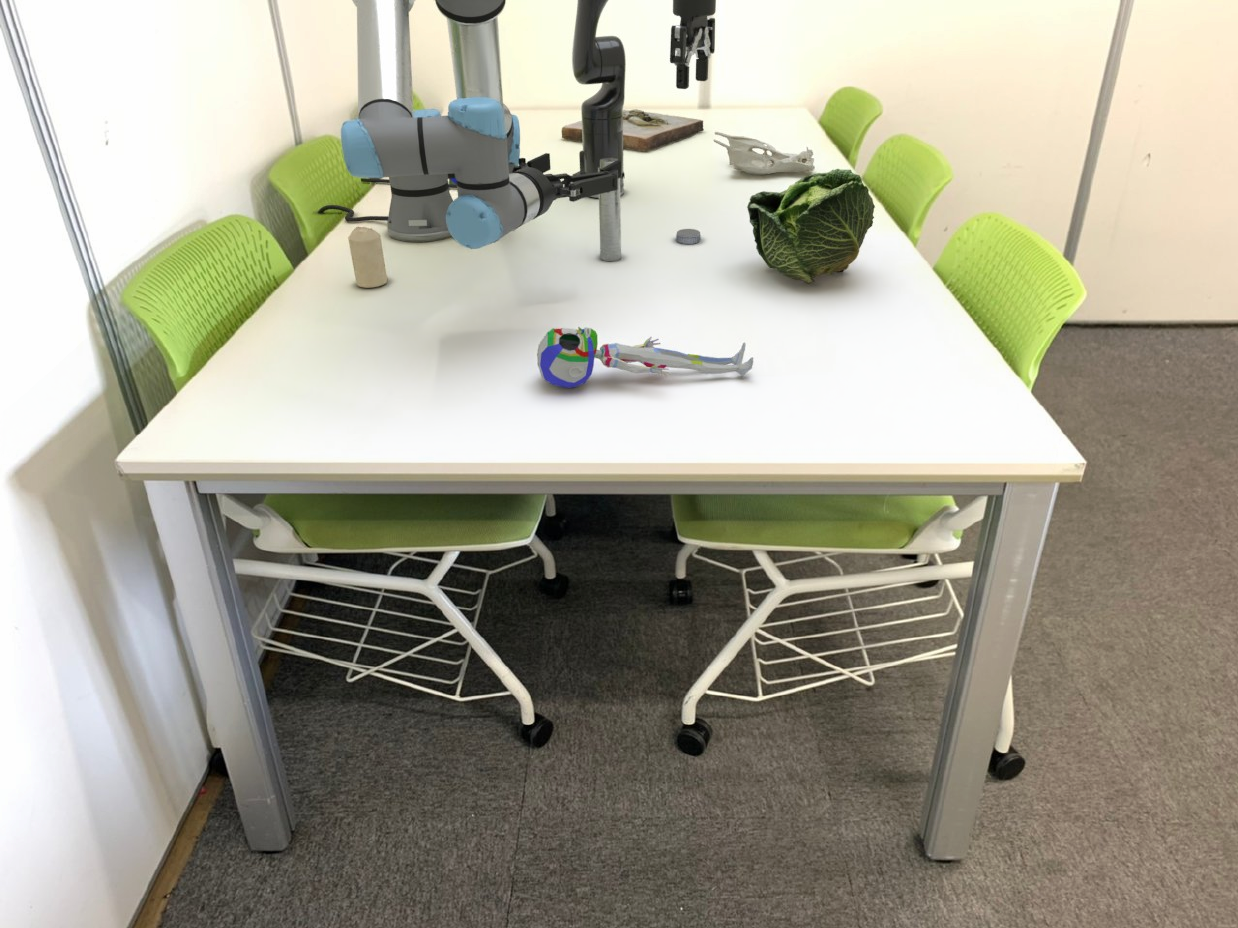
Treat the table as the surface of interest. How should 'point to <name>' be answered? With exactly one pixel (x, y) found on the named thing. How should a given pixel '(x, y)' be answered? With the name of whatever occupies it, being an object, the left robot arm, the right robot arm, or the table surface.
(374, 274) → the candle
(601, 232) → the grey long cylinder
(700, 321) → the table surface
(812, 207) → the vegetable
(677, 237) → the lid
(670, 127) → the plaque
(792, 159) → the anatomical model
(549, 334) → the toy
